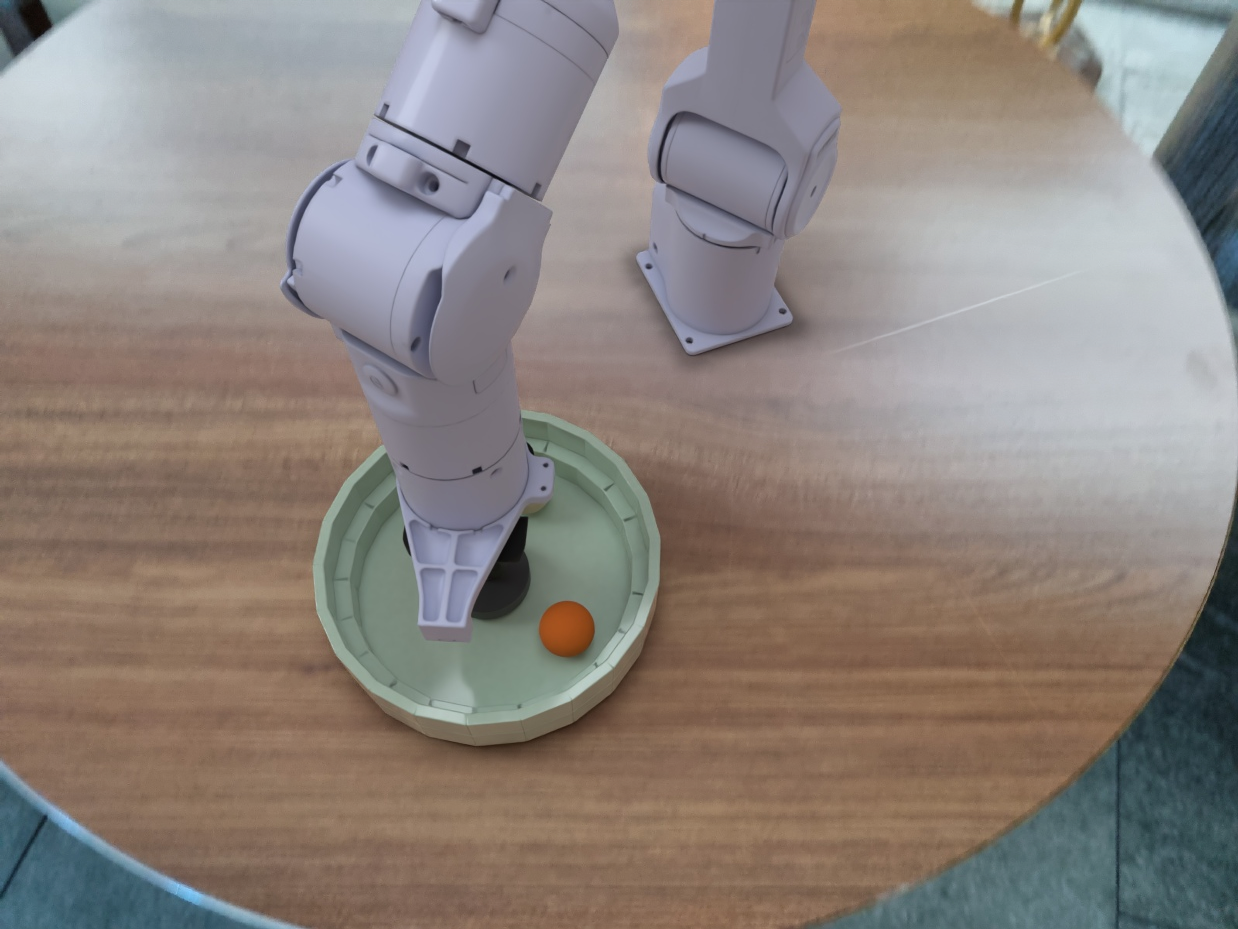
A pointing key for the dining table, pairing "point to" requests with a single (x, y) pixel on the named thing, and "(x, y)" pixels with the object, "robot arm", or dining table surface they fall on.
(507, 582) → the black peg stand
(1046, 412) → the dining table surface
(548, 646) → the orange ball
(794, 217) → the robot arm
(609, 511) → the bowl
